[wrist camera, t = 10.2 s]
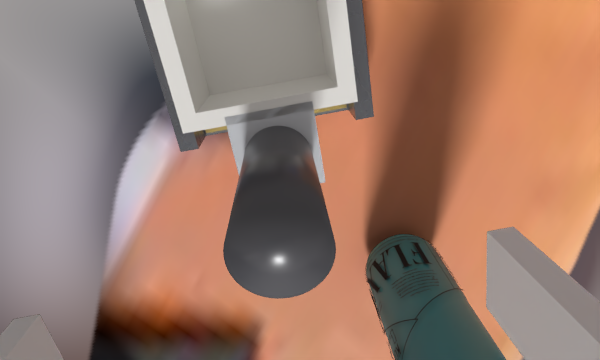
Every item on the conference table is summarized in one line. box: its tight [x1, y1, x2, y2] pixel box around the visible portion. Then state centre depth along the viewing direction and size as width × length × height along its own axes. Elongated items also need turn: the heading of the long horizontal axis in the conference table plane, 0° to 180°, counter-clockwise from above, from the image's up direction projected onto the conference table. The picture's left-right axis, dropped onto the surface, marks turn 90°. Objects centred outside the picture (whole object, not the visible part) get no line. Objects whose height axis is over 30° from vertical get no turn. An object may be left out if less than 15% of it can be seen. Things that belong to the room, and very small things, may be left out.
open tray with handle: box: [143, 0, 358, 298], centre depth 20 cm, size 10×14×16 cm
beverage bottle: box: [365, 234, 506, 360], centre depth 26 cm, size 6×7×20 cm
